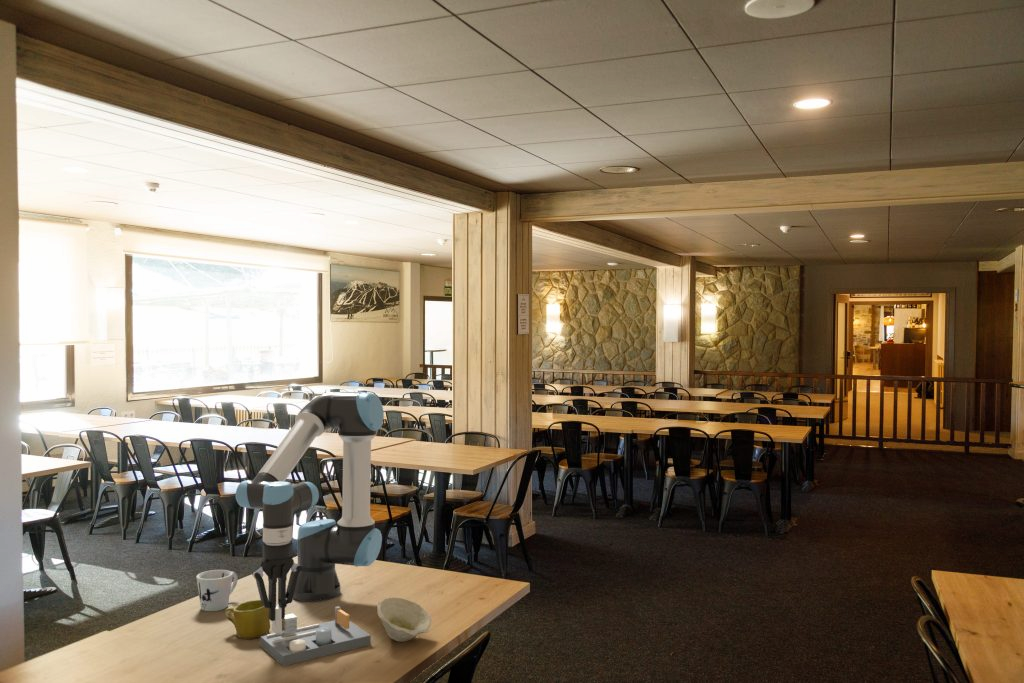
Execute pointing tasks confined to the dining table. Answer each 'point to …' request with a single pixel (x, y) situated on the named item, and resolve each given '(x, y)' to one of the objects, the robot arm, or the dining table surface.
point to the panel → (314, 642)
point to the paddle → (341, 618)
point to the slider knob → (289, 625)
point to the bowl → (403, 618)
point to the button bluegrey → (323, 636)
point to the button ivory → (297, 645)
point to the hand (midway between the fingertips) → (276, 631)
